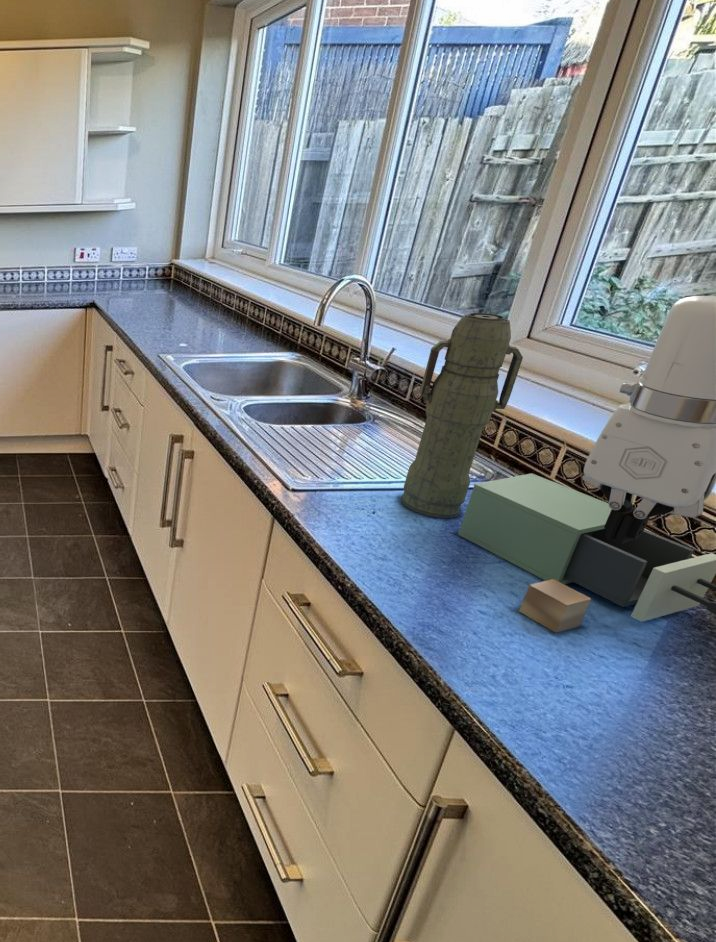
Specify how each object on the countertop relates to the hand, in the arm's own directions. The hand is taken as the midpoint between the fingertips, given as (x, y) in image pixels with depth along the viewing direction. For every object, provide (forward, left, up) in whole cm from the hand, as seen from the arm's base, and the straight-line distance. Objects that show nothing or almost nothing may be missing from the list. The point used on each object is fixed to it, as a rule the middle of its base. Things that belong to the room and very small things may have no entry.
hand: (619, 538), depth 78 cm
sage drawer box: (+14, -11, -13) cm, 22 cm away
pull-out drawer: (+1, -11, -12) cm, 16 cm away
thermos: (+30, -9, -13) cm, 34 cm away
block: (+2, +4, -13) cm, 14 cm away
